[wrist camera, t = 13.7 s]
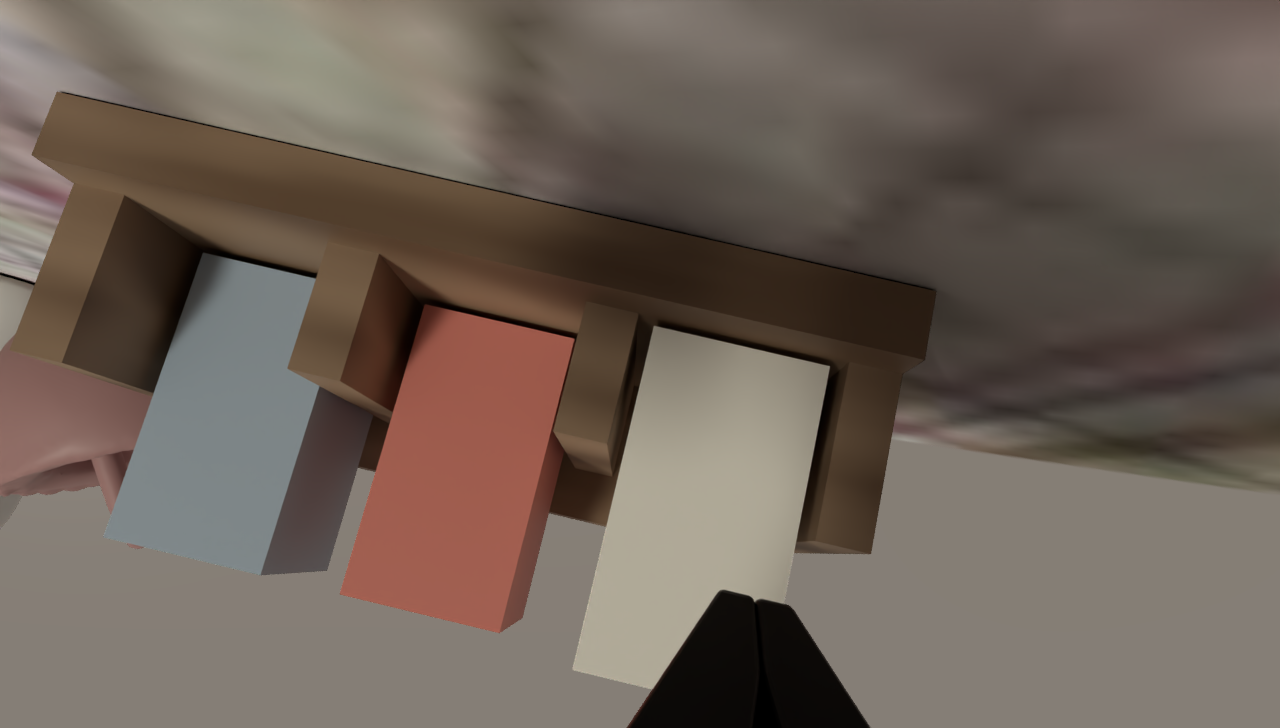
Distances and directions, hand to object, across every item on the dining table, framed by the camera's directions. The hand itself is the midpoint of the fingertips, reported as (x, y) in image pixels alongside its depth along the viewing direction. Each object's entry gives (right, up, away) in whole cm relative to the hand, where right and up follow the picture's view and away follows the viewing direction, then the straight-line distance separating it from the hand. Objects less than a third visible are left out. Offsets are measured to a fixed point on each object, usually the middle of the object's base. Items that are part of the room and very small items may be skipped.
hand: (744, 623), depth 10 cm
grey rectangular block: (-11, +5, +16) cm, 20 cm away
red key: (-5, +4, +16) cm, 17 cm away
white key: (+1, +3, +12) cm, 13 cm away
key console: (-4, +5, +15) cm, 17 cm away
